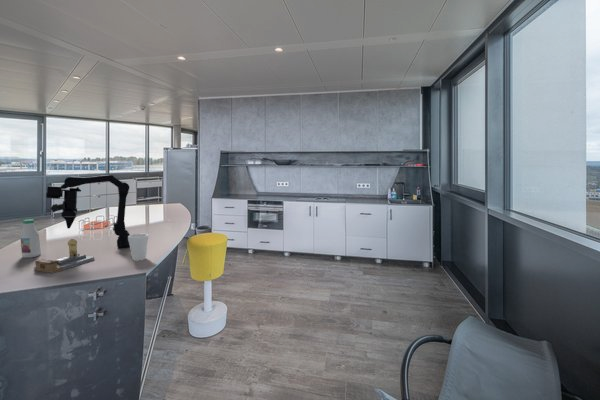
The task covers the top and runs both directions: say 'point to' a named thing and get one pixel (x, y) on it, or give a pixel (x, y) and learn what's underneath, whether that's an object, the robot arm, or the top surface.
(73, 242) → the brass ball knob
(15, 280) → the top surface
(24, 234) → the milk bottle
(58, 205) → the robot arm
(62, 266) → the grey railed plate
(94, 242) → the top surface
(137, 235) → the foam cup
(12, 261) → the top surface
